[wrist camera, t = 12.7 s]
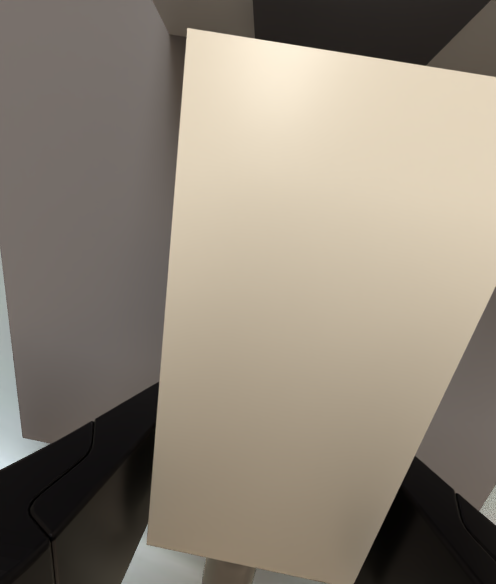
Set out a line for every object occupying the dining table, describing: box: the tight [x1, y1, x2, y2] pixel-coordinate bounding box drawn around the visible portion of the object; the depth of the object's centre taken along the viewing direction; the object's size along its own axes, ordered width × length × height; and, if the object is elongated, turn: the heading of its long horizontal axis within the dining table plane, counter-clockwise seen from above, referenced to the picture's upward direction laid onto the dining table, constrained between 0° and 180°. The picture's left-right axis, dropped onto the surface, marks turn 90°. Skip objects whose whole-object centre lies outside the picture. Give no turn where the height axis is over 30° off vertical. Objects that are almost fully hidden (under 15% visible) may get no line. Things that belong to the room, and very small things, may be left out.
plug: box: [147, 28, 496, 584], centre depth 6 cm, size 13×4×4 cm, turn 170°
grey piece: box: [0, 0, 496, 511], centre depth 6 cm, size 16×18×5 cm
